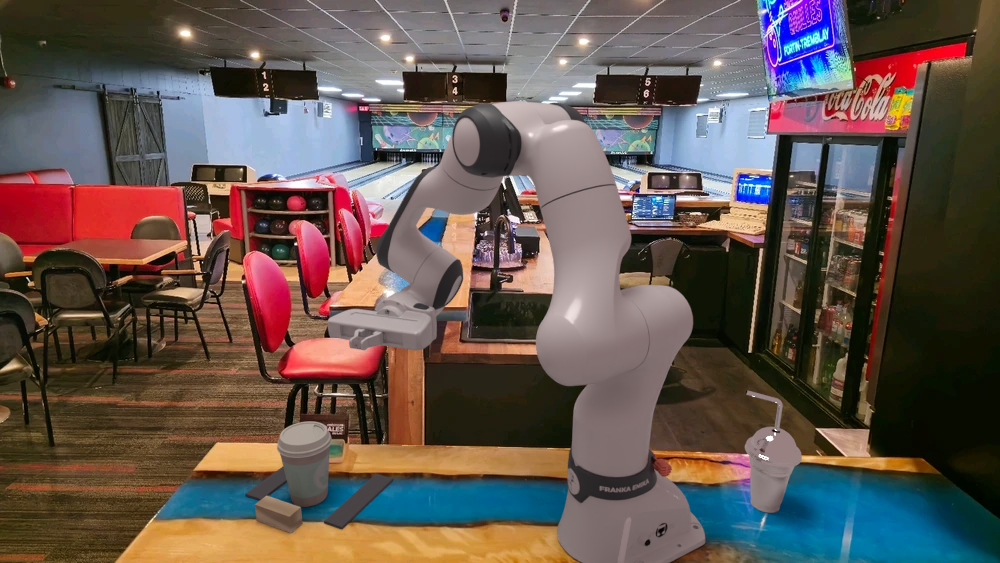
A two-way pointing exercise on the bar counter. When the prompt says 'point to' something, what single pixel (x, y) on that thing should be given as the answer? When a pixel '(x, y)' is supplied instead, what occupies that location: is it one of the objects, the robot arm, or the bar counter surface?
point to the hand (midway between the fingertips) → (356, 345)
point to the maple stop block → (278, 514)
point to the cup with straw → (770, 462)
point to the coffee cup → (306, 461)
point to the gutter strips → (344, 511)
